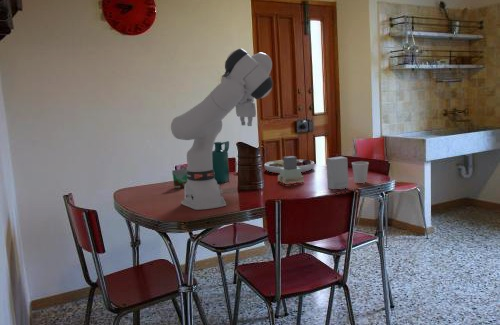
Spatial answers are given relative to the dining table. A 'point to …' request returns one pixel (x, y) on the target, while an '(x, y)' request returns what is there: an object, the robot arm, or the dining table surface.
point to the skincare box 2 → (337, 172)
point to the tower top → (290, 172)
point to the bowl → (275, 165)
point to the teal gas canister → (221, 162)
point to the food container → (180, 177)
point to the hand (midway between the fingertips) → (246, 125)
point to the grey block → (290, 162)
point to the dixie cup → (360, 171)
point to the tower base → (290, 179)
